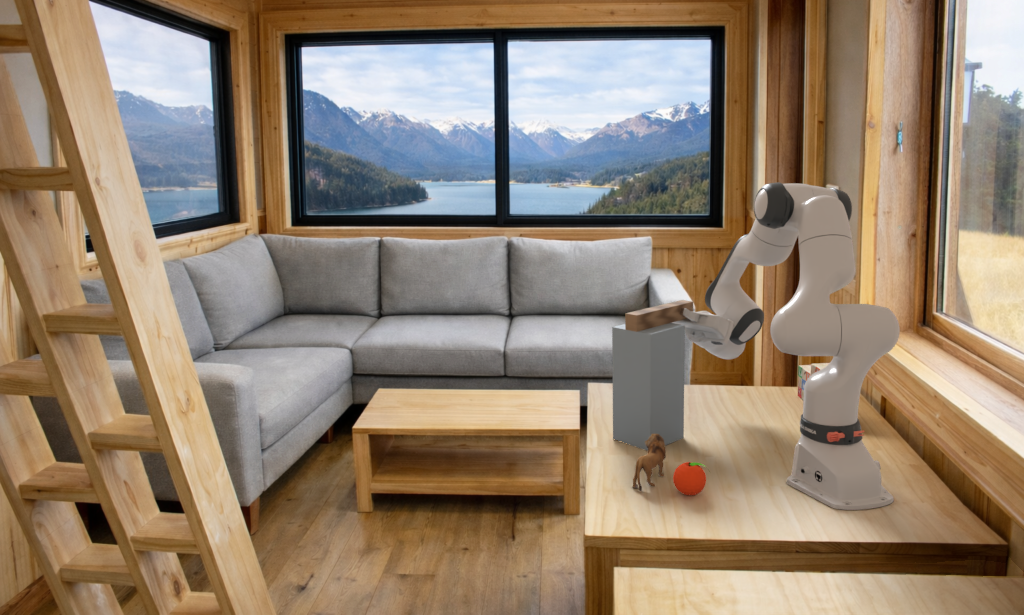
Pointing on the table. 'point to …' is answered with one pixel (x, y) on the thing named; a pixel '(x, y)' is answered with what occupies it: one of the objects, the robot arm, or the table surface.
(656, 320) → the bar
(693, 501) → the table surface
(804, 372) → the stack of blocks
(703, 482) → the clementine
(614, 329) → the stand
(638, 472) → the lion figurine
